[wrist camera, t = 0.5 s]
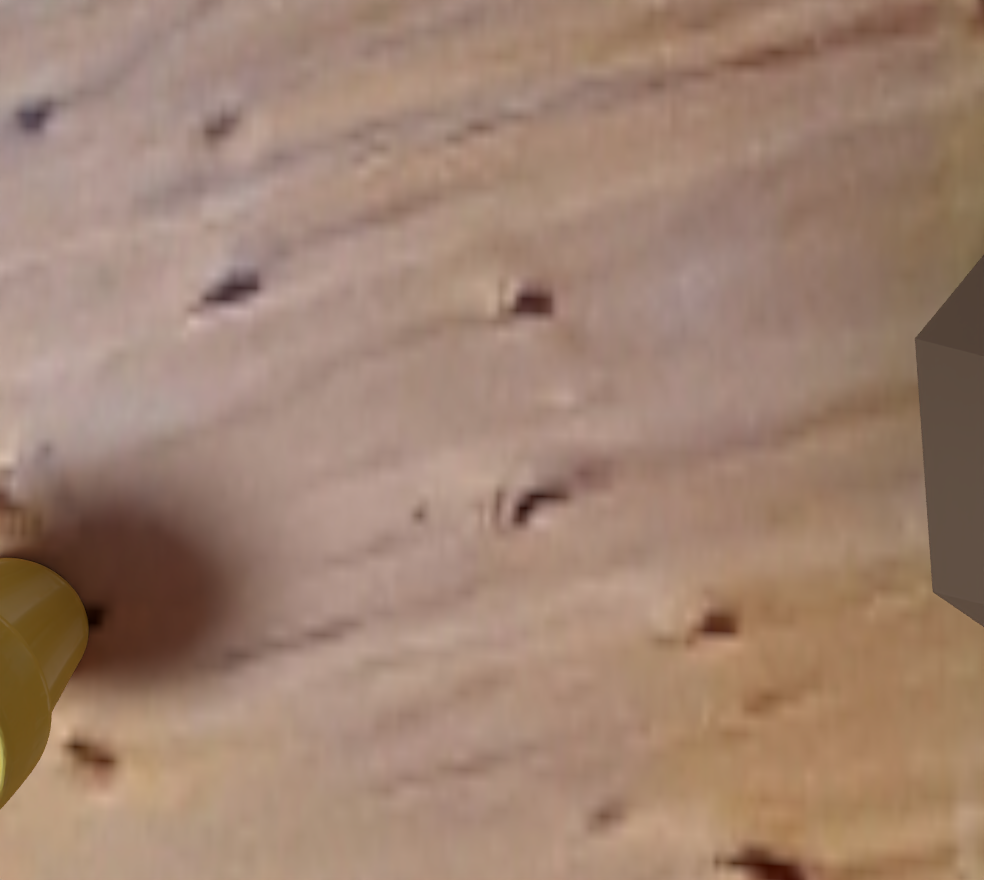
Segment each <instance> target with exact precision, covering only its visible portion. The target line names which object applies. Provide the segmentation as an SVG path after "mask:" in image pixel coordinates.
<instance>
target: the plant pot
mask: <svg viewBox="0 0 984 880" xmlns="http://www.w3.org/2000/svg"><path fill="white" fill-rule="evenodd" d="M88 635H89V627H88V619H87V615H86V611H85V608H84V606H83V604H82V602H81V600H80V598H79V596H78V594H77V593H76V591H75V590H74V589H73V588H72V587H71V585H70V584H69V583H68V582H67V581H66V580H64V579H63V578H62V577H61V576H60V575H58V574H57V573H55V572H54V571H52V570H51V569H49V568H47V567H45V566H43V565H40V564H38V563H35V562H32V561H28V560H24V559H18V558H0V809H1V808H2V807H3V806H4V805H5V804H6V803H7V801H8V800H9V799H10V798H11V797H12V796H13V794H14V793H15V792H16V791H17V790H18V789H19V787H20V786H21V785H22V783H23V782H24V781H25V780H26V778H27V777H28V776H29V774H30V773H31V772H32V770H33V769H34V768H35V766H36V764H37V763H38V761H39V760H40V758H41V756H42V754H43V752H44V749H45V747H46V744H47V741H48V737H49V733H50V728H51V715H52V711H53V709H54V707H55V705H56V703H57V702H58V700H59V698H60V696H61V694H62V692H63V691H64V689H65V687H66V685H67V683H68V681H69V680H70V678H71V676H72V674H73V672H74V671H75V669H76V667H77V665H78V663H79V662H80V660H81V658H82V656H83V654H84V652H85V649H86V646H87V642H88Z"/></svg>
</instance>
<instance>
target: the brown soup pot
mask: <svg viewBox="0 0 984 880" xmlns="http://www.w3.org/2000/svg"><path fill="white" fill-rule="evenodd" d="M915 344H916V359H917V373H918V387H919V401H920V416H921V430H922V444H923V459H924V473H925V487H926V502H927V516H928V530H929V544H930V559H931V573H932V587H933V592H934V593H935V594H937V595H938V596H939V597H941V598H942V599H944V600H945V601H947V602H948V603H950V604H951V605H953V606H954V607H955V608H957V609H958V610H960V611H961V612H963V613H964V614H966V615H967V616H969V617H970V618H972V619H973V620H974V621H976V622H977V623H979V624H980V625H982V626H983V627H984V255H983V257H982V258H981V259H980V260H979V261H978V263H977V264H976V265H975V266H974V268H973V269H972V270H971V271H970V272H969V274H968V275H967V276H966V277H965V279H964V280H963V281H962V282H961V283H960V285H959V286H958V287H957V288H956V289H955V291H954V292H953V293H952V294H951V296H950V297H949V298H948V299H947V300H946V302H945V303H944V304H943V305H942V306H941V308H940V309H939V310H938V311H937V313H936V314H935V315H934V316H933V317H932V319H931V320H930V321H929V322H928V324H927V325H926V326H925V327H924V328H923V330H922V331H921V332H920V333H919V334H918V336H917V337H916V338H915Z"/></svg>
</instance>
